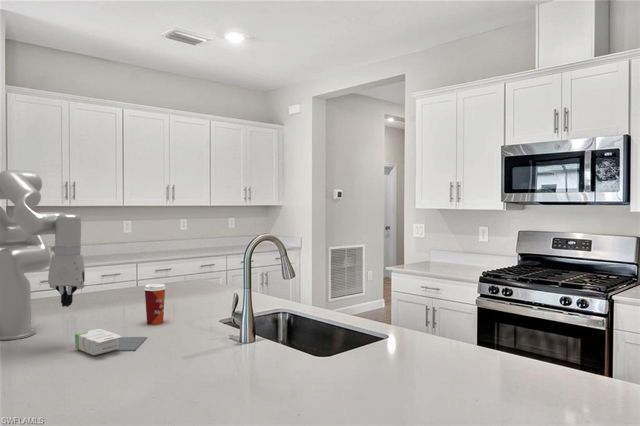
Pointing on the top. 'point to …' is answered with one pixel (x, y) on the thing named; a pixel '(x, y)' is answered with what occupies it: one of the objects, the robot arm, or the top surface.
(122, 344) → the mat
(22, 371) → the top surface
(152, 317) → the coffee cup
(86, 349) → the ink box
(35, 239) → the robot arm
